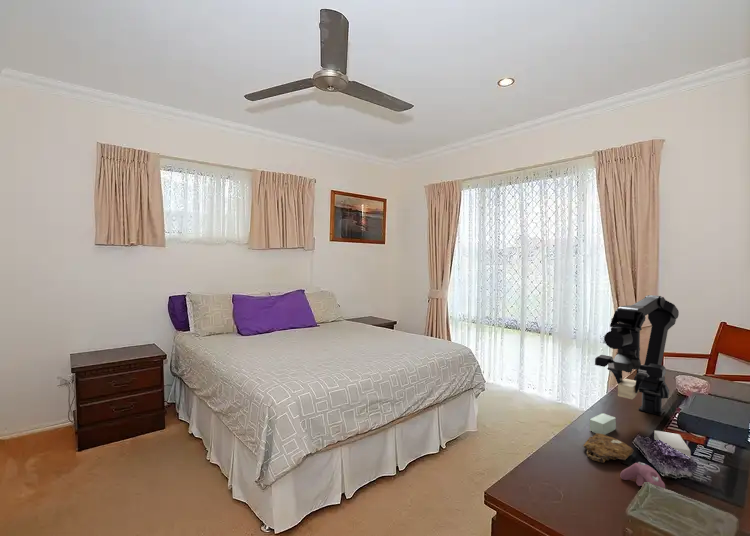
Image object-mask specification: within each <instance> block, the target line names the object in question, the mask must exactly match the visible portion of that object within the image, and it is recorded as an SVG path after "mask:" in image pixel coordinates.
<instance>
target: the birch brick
mask: <svg viewBox="0 0 750 536" xmlns="http://www.w3.org/2000/svg"><path fill="white" fill-rule="evenodd" d="M635 385H636V381H635V380H634V379H629V378H623V379H622V381H621V382H620V383H619V384H618V383H617V396H618V397H619V398H624V399H629V400H633V399H635V398H636V397H637V396H638V395H639V394H640V392H639V390H638V392H637V393H635Z"/></svg>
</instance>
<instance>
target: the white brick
mask: <svg viewBox="0 0 750 536" xmlns="http://www.w3.org/2000/svg"><path fill="white" fill-rule="evenodd" d="M653 431H654V432H653V433H654V434H653V435H654V436H653V439H654V440H661V441H663V442H664V443H667V444H668V445H670V446H671V447H672V448H674V449H676V450H678V451H680V452H681V453H683V454H685V455H687V456H689V457H690V458H691V453H692V452H691V449H690V448H689V446H688V445H687V444H686V442H685V441H684V439H683V438H682V436H681V434H680V433H672V432H668V431H667V432H666V431H661V430H653Z"/></svg>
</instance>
